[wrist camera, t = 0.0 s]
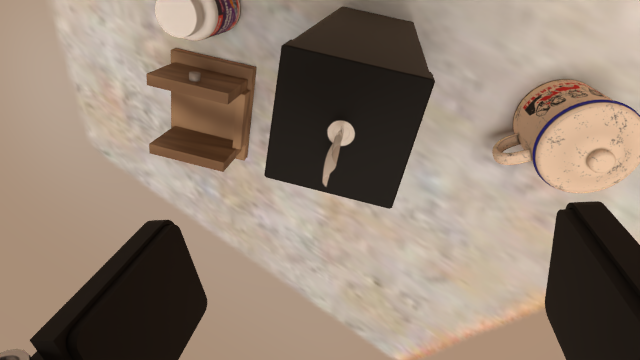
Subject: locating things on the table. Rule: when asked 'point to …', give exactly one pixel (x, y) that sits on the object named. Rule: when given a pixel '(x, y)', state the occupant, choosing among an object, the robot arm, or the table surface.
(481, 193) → the table surface
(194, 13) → the pill bottle
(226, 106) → the holder
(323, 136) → the tissue box
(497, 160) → the teacup with lid
